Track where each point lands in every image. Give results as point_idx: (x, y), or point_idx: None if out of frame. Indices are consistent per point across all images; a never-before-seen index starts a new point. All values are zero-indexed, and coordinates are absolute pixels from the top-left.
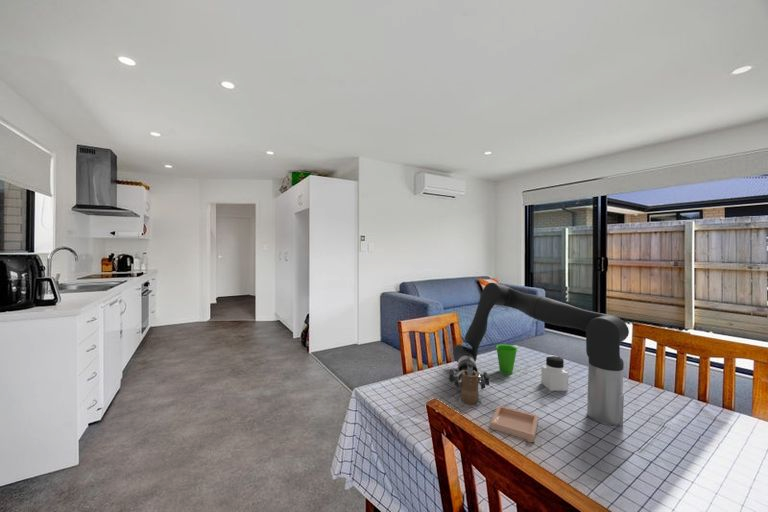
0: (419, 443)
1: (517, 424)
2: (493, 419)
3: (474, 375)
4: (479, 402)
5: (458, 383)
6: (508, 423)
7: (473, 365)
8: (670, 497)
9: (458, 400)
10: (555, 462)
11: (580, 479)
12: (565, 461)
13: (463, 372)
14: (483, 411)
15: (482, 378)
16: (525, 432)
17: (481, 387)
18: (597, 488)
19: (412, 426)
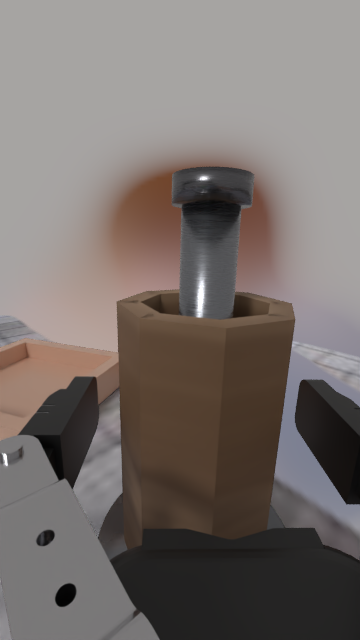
0: (294, 342)
1: (17, 387)
2: (111, 361)
3: (164, 293)
4: (114, 531)
5: (299, 394)
6: (50, 388)
7: (174, 204)
8: None
9: (280, 527)
10: (28, 338)
11: (18, 326)
12: (2, 340)
13: (275, 305)
14: (115, 462)
15: (20, 445)
16: (42, 341)
17: (97, 410)
18: (7, 322)
19: (349, 367)
